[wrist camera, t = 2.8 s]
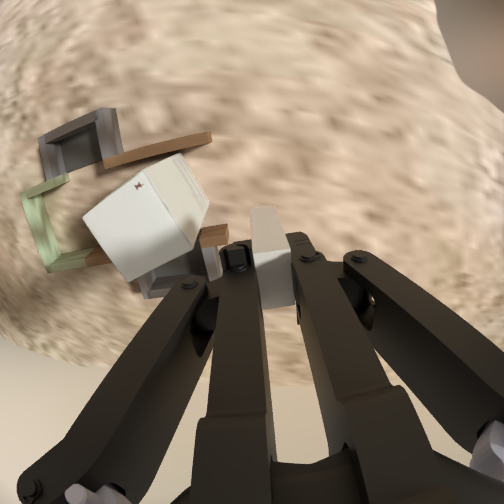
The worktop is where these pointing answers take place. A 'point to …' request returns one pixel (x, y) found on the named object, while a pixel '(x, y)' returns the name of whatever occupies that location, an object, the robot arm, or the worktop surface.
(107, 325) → the worktop surface
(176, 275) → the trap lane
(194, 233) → the supplement box
